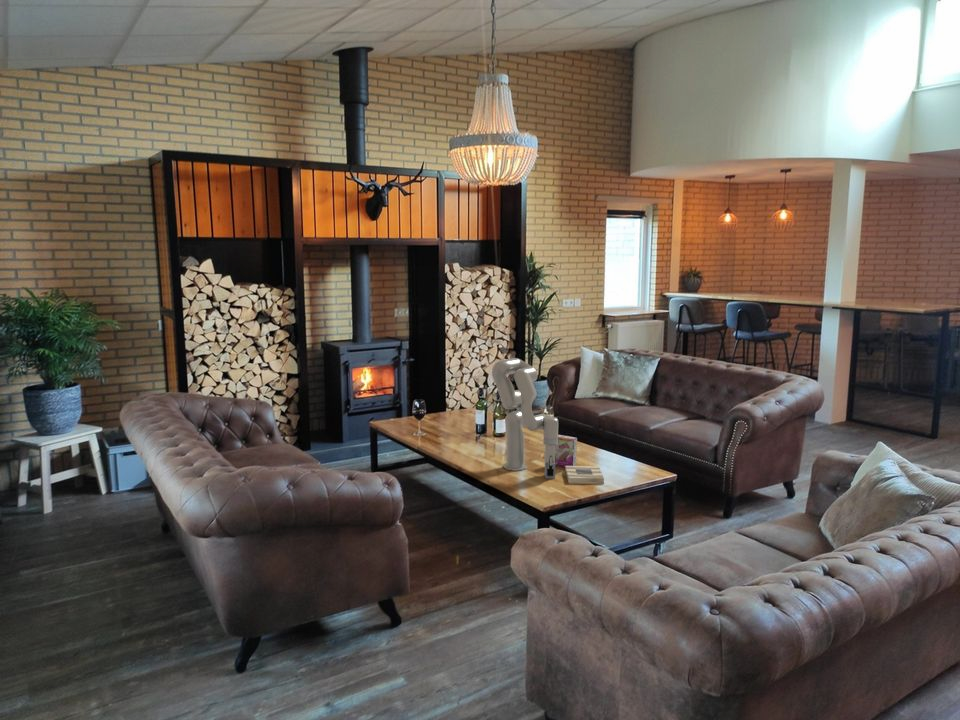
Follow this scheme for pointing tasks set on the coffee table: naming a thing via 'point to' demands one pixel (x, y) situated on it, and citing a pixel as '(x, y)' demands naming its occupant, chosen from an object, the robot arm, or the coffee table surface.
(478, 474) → the coffee table surface
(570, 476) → the birch base
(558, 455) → the candy bar box
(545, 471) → the slate block
